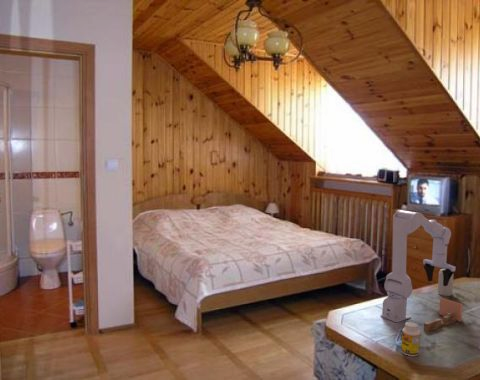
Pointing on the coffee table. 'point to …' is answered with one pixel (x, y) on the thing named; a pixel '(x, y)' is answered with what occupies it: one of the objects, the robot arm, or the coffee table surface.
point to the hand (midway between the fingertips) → (437, 283)
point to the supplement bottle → (410, 339)
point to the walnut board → (439, 322)
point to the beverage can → (445, 289)
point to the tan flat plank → (450, 308)
